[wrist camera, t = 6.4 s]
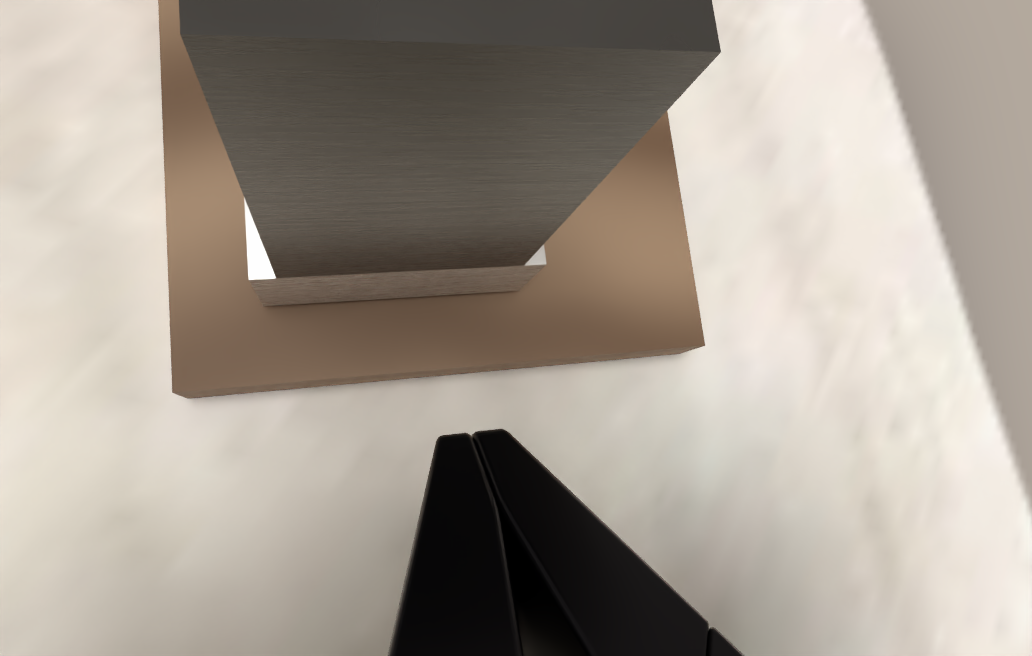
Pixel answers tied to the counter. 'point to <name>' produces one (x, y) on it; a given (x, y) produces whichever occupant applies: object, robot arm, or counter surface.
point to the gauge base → (414, 320)
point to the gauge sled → (429, 129)
